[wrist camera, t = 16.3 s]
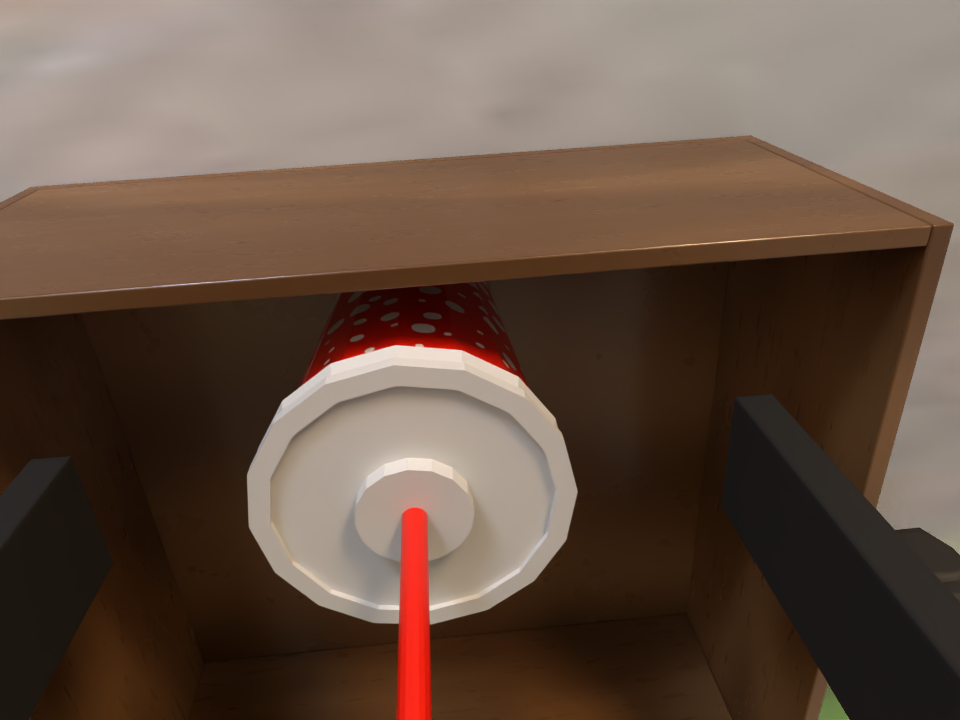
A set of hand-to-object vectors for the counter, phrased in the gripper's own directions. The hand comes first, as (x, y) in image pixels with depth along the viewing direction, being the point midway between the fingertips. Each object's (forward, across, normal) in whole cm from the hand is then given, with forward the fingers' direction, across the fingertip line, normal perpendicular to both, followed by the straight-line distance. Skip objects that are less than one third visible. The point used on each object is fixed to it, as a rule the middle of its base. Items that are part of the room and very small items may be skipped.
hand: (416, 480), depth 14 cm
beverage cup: (+8, 0, 0) cm, 8 cm away
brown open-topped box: (+8, 0, -5) cm, 9 cm away
